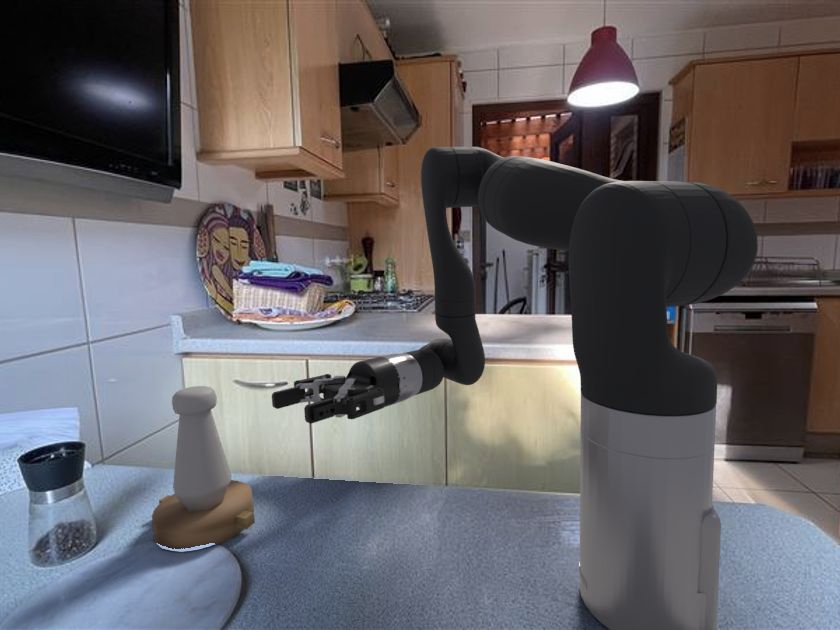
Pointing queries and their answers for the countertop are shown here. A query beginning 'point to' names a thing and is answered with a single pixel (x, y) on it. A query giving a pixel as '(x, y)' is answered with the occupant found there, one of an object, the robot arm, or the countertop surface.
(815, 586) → the countertop surface
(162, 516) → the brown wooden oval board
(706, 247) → the robot arm
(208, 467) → the salt shaker
